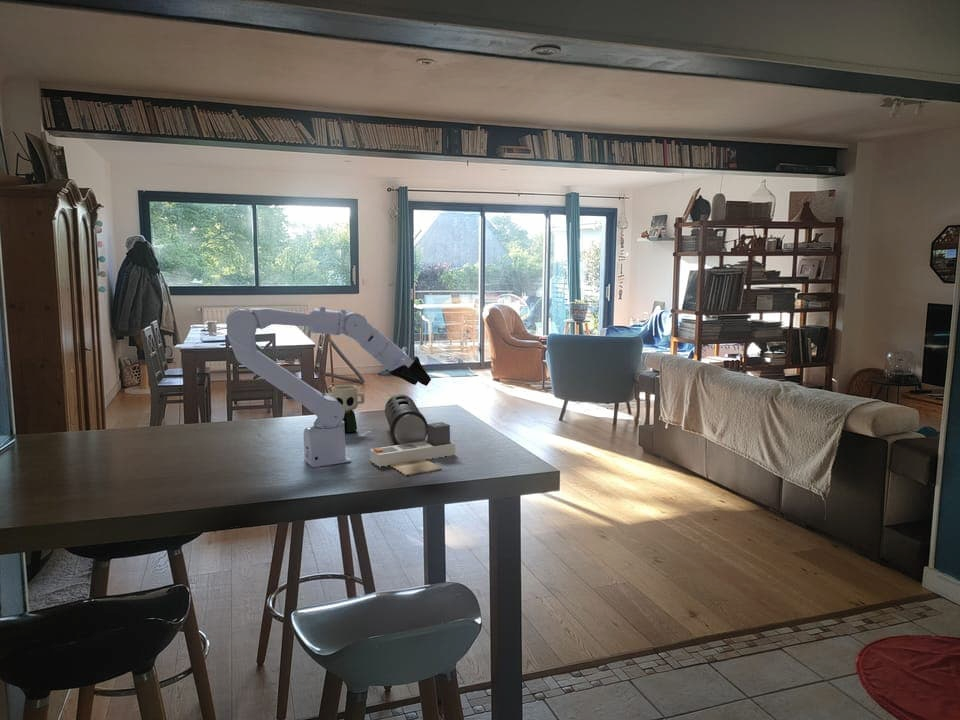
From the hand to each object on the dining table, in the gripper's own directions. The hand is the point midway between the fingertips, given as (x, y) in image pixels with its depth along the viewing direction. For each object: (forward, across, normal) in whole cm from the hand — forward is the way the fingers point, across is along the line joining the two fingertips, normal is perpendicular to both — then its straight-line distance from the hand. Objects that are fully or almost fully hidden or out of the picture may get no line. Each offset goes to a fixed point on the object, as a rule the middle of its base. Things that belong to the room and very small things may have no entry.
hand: (422, 382), depth 171 cm
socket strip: (+8, -3, +17) cm, 19 cm away
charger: (+12, -3, +11) cm, 16 cm away
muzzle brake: (+11, +16, +12) cm, 23 cm away
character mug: (+1, +32, +18) cm, 37 cm away
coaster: (+7, -11, +19) cm, 23 cm away
